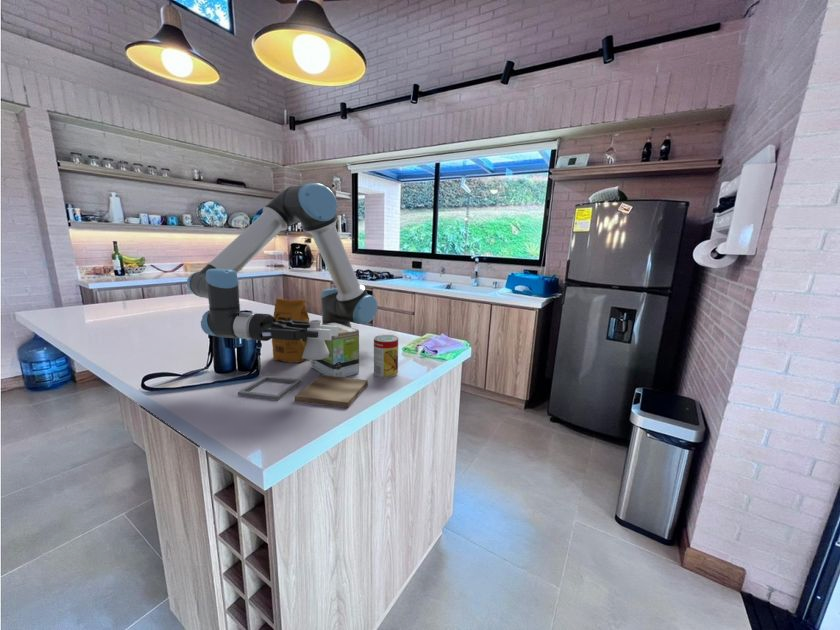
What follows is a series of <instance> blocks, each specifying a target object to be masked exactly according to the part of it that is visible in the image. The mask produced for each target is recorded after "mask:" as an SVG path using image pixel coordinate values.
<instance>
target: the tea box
mask: <svg viewBox="0 0 840 630" xmlns="http://www.w3.org/2000/svg"><path fill="white" fill-rule="evenodd" d="M320 325H329V326H338V336H331V340H324V341H325V344H326V346H327V348H328V351H329V353H330V354H329V357H326V358H324V359H321V360H310V364H311V368H312V369H314V370H315V371H318V372H319V373H321V374H322V375H324V376H334V377H343V378H348V377H350V376H353V375H358V374H359V373H360V330H359V329H358V328H357V329H356V328H354V327H352V326H351V327H352V328H351V327H348V326H345V325H341V324H338V323H328V324H322V323H320Z"/></svg>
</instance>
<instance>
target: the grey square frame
mask: <svg viewBox="0 0 840 630" xmlns="http://www.w3.org/2000/svg"><path fill="white" fill-rule="evenodd" d="M266 381H268V382H269V381H270V382H277V383H288V384H290V385H289V386H287V387H286V388H284V389H283V390H281V391H280V392H279V393H277V394H272V393H264V392H263V393H262V392H255V391H252V390H253V389H255V388H257V387H258V386H260V385H261V384H263V383H265V382H266ZM302 383H303V380H302V379H299V378H290V377H282V376H274V375H273V376H272V375H264V376H263V377H261V378H260V379H257V380H256V381H255V382H253V383H251V384H248V385H247V386H245V387H244V388H242V389H240V390H239V391H237V396H239V397H246V398H256V399H257V398H258V399H264V400H271V401H272V400H273V401H279V400H280V399H282V398H283V397H285V396H286V395H288V394H289V393H290V392H292V391H293V390H294V389H296V388H298V386H299V385H301V384H302Z"/></svg>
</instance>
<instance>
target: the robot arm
mask: <svg viewBox="0 0 840 630" xmlns="http://www.w3.org/2000/svg"><path fill="white" fill-rule="evenodd" d="M338 207H339V206H338V200H337V197H336V196H335V194H334V192H333V191H332V190H331V189H330V188H329V187H327V186H326V185H324V184H322V183H319V182H316V183H315V182H308V183H303V184H299V185H293V186H288V187H286V188H284V189H283V190H281V191H280V192H279V193H278V194H277V195H276V196H275V197H273V198H272V199H271V200H270V201H269V202H268V204H266V205H265V206H264V207H263V208H262V213H261V214H260V216H258V217H257V218H256V219H255V220H254V221H253V222H252V223H251V224H249V226H247V227H246V229H244V230H243V231H242V232H241V233H240V234H239V235H238V236H237V237H236V238H234V239H233V241H232V242H231V243H229V244H228V245H227V246H226V247H225V248H224V249H223V250H222V251H221V252H220V253H219V254H217V255H216V256H215V257H214V258H213V259H212V260H211V261H210V262H209V263H208V264H207V265H205V266H204V267H203V268H202V269H201V270H199V271H196V272H193V273H191V274H190V275H189V276H188V278H187V279H186V286H187V289H188V290H189V292H190V293H192V294H193V295H195V296H197V297H200V298H204V299H207V300H208V308H209V309H208V310H206V311H205V312H204V313H203V315H202V317H201V318H202V319H201V320H200V328H201V330H202V331H203V333H204V334H206V335H208V336H214V337H216V338H217V337H218V338H227V339H229V338H231V339H244V340H246V341H247V342H250V341H251V340H252V341H253V340H254V341H260V342H268V341H270V340H272V339H284V340H300V338H301V339H302V341H303V342H304V341H306V337H307V338H309V339H320V340H331V336H338V326H329V325H321V324H328V323H338V324H341V325H345V326H348V327H351V328H353V327H352V324H351V323H355V324H359V325H366V324H369V323H370V322H371V321H372V320H374V318H375V317H376V315H377V312H378V301H377V299H376V297H375V296H374V295H371V294H368V291H367V288H366V287H365V285H364V284H362V283H359V279H358V277H357V274H356V273H355V270H354V268H353V264H352V263H351V260H350V258H349V256H348V253H347V251H346V249H345V246H344V244H343V241H342V239H341V236H340V235H339V232H338V230H337V228H336V224H337V222H338V218H337V216H336V214H337V212H338ZM299 222H300V224H301V226H302V227H303V230H304V232H305V233H308V234H311V236H312V237H311V238H313V239H312V240H313V241H314V243H315V245H316V247H317V250H318V252H319V254H320V255H321V258H322V260H323V262H324V264H325V266H326V269H327V272H328V274H329V275H330V278H331V279H332V281H333V284H334V286H335V287H334V288H325V289H323V290H322V292H321V296H320V297H321V298H320V300H321V318H322V319H321V324H320V329H317V328H310V324H309V323H308V322H307V321H297V320H293V319H290V320H289V321H284V320H277V321H276V320H275V319H274V317H273V316H274V315H272V314H269V313H257V312H247V311H246V312H245V311H241V304H240V293H239V292H240V291H239V282H240V281H239V279H238V273H239V272H240V271H241V270H243V268H244V267H245V266H246V265H247V264H248V263H249V262H251V261H252V259H253V258H255V256H256V255H258V253H260V251H262V250H263V249H264V248H265V246H266V245H268V244H269V242H271V241H272V240H273V239H274V238H275V237H276V236H277V235H278V234H279V233H280V232H281V231H286V230H288V229H289V227H291V226H292V225H294V224H296V223H299ZM226 312H227V313H226ZM238 312H240V313H239V316H238Z"/></svg>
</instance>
